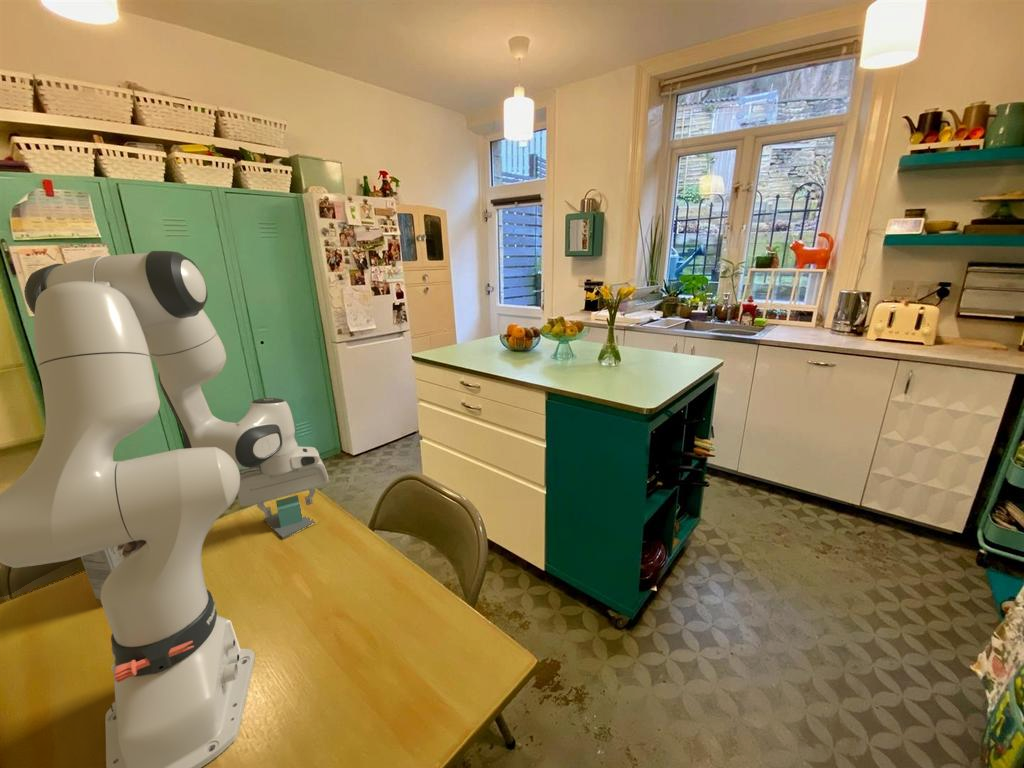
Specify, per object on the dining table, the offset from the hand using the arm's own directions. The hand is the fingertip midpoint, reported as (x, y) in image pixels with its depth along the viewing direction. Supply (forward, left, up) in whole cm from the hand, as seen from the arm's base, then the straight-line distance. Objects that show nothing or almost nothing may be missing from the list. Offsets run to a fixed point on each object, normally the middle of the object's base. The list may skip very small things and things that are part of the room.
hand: (289, 509), depth 108 cm
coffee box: (-6, +31, -4) cm, 32 cm away
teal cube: (0, 0, -3) cm, 3 cm away
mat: (0, 0, -4) cm, 4 cm away
